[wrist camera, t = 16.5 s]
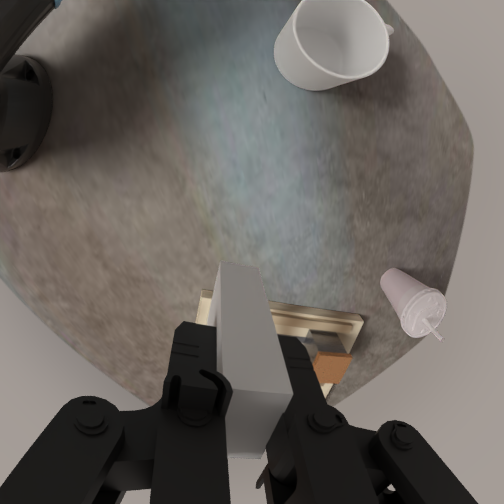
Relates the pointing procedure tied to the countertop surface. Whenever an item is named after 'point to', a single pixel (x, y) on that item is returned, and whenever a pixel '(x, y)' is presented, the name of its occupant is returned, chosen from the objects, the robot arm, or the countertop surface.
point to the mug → (331, 43)
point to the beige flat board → (301, 322)
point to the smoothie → (414, 303)
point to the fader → (327, 355)
